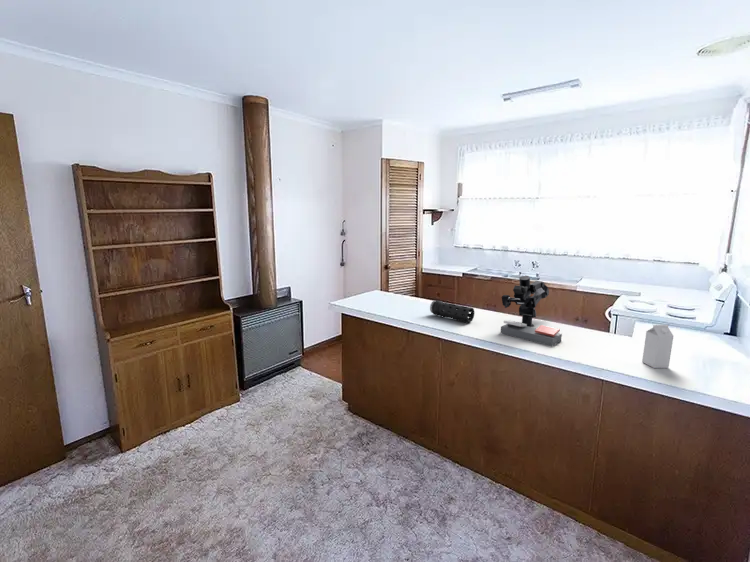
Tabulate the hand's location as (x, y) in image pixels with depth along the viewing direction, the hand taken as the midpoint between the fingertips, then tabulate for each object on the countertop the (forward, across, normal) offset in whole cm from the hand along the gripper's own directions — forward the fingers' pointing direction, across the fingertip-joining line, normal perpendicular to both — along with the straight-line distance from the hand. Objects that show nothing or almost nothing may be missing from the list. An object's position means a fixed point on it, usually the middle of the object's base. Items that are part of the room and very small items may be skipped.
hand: (512, 307), depth 214 cm
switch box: (0, +7, +17) cm, 19 cm away
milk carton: (+3, +64, +23) cm, 68 cm away
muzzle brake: (-2, -44, +13) cm, 45 cm away
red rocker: (0, +17, +13) cm, 21 cm away
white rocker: (-2, -1, +11) cm, 11 cm away
